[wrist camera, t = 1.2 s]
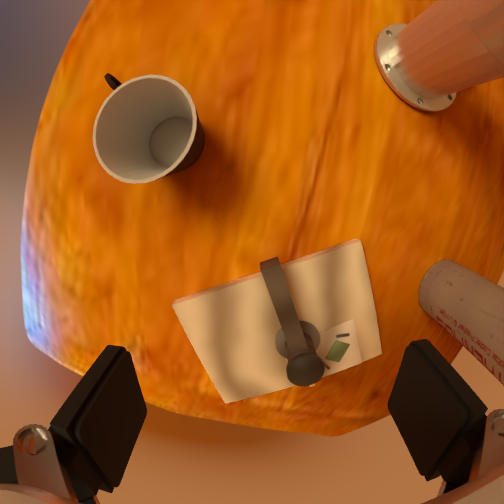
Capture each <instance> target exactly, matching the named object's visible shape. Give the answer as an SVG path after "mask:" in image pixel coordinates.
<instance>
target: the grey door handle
mask: <svg viewBox="0 0 504 504" xmlns="http://www.w3.org/2000/svg"><path fill="white" fill-rule="evenodd" d="M260 269H261V273H262V276H263V278H264V281H265V284H266V287H267V289H268V292H269V295H270V297H271V300H272V303H273V306H274V308H275V311H276V314H277V316H278V319H279V322H280V325H281V327H282V330H283V333H284V336H285V338H286V341H285V350H286V356H287V361H288V364H287V367H286V372H287V378H288V380H289V381H290V382H291V383H292V384H294V385H297V386H310V387H312V386H315V383H316V382H317V381H319V380H320V379H321V378H322V376H323V374H324V371H325V367H324V364H323V361H322V359H321V358H320V357H319V356H318V355H317V353H316V350H315V347H314V344H313V341H312V339H311V337H310V336H309V335H308V334H306V333H304V332H303V331H302V328H301V325H300V322H299V319H298V316H297V313H296V310H295V307H294V304H293V301H292V298H291V295H290V292H289V289H288V286H287V283H286V280H285V277H284V274H283V271H282V268H281V265H280V262H279V259H278V257H275V258H272V259H269V260H266V261H263V262H260Z"/></svg>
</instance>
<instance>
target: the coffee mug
mask: <svg viewBox="0 0 504 504" xmlns="http://www.w3.org/2000/svg"><path fill="white" fill-rule="evenodd" d="M104 77H105V79H106V81H107V83H108V84H109V86H110V87H111V88H112V89H113V90H114V91H113V92H112V93H111V94H110V95H109V96H108V97H107V99H106V100H105V101H104V103H103V104H102V106H101V108H100V110H99V112H98V114H97V116H96V119H95V123H94V128H93V146H94V151H95V154H96V157H97V159H98V161H99V163H100V164H101V166H102V167H103V168H104V169H105V171H106V172H107V173H108V174H110V175H111V176H113V177H114V178H116V179H118V180H120V181H123V182H127V183H132V184H139V183H147V182H151V181H155V180H157V179H160V178H162V177H165V176H168V175H170V174H173V173H176V172H178V171H181V170H183V169H186V168H188V167H189V166H191V165H192V164H193V163H194V162H195V161H196V160H197V159H198V158H199V156H200V155H201V152H202V150H203V146H204V135H203V131H202V127H201V124H200V121H199V118H198V115H197V111H196V108H195V105H194V103H193V100H192V97H191V96H190V95H189V93H188V92H187V90H186V89H185V88H184V87H183V86H182V85H181V84H180V83H178V82H177V81H175V80H173V79H171V78H169V77H165V76H161V75H145V76H139V77H136V78H133V79H131V80H129V81H127V82H125V83H123V84H121V83H120V82H119V81H118V80H117V79H116V78H115V77H113V76H112V75H111V74H109V73H107V74H106V75H105V76H104ZM117 86H118V87H117Z"/></svg>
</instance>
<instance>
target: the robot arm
mask: <svg viewBox="0 0 504 504" xmlns="http://www.w3.org/2000/svg"><path fill="white" fill-rule="evenodd" d="M374 49H375V58H376V62H377V65H378V68H379V70H380V72H381V74H382V76H383V78H384V79H385V81H386V82H387V84H388V85H389V86H390V88H391V89H392V90H393V91H394V92H395V93H396V94H397V95H398V96H399V97H400V98H401V99H403V100H404V101H405V102H406V103H408V104H410V105H411V106H413V107H415V108H417V109H420V110H423V111H428V112H437V111H440V110H444V109H446V108H448V107H449V106H450V105H451V104H452V103H453V101H454V100H455V98H456V94H457V92H458V91H461V90H464V89H467V88H470V87H473V86H476V85H479V84H483V83H486V82H489V81H493V80H496V79H500V78H503V77H504V0H436V1H435V2H434V3H433V4H431V5H430V6H429V7H428V8H427V9H425V10H424V11H423V12H422V13H421V14H419V15H418V16H417V17H416V18H415V19H414V20H413V21H411V22H410V23H409V24H392V25H390V26H387V27H386V28H385V29H383V30H382V31H381V32H380V34H379V35H378V37H377V39H376V41H375V47H374ZM388 409H389V412H390V414H391V416H392V417H393V419H394V421H395V423H396V425H397V427H398V429H399V431H400V434H401V436H402V437H403V439H404V442H405V444H406V446H407V448H408V450H409V452H410V454H411V456H412V458H413V460H414V463H415V465H416V467H417V469H418V471H419V473H420V474H421V475H422V476H425V479H426V481H430V480H432V479H434V478H437V477H439V476H440V475H441V476H442V478H443V481H442V484H441V487H440V490H439V493H438V495H437V497H436V498H434V499H431V500H429V501H427V502H424V503H422V504H504V409H497V410H494V411H492V412H491V413H490V414H489V415H488V416H486V415H485V412H486V411H487V409H488V408H487V407H486V405H485V404H484V403H483V402H482V401H481V400H480V398H479V397H478V396H477V395H476V394H475V392H473V390H472V389H471V388H470V386H469V385H468V384H467V383H466V382H465V381H464V379H463V378H462V377H461V376H460V375H459V374H458V373H457V372H456V370H455V369H454V368H453V367H452V366H451V365H450V364H449V362H448V361H447V360H446V359H445V358H444V357H443V356H442V355H441V354H440V353H439V351H438V350H437V349H436V348H435V347H434V346H433V345H432V344H431V343H430V342H429V341H428V340H427V339H423V340H417V341H412V342H411V343H410V344H409V346H407V347H406V349H405V352H404V356H403V359H402V362H401V366H400V369H399V372H398V375H397V378H396V381H395V384H394V387H393V390H392V392H391V395H390V398H389V400H388ZM146 414H147V408H146V404H145V401H144V398H143V395H142V392H141V388H140V385H139V382H138V378H137V375H136V371H135V368H134V364H133V361H132V357H131V354H130V352H128V351H126V349H125V347H122V346H114V345H108V346H107V347H106V348H105V349H104V350H103V352H102V353H101V354H100V355H99V357H98V358H97V359H96V361H95V362H94V363H93V365H92V366H91V367H90V369H89V370H88V371H87V372H86V374H85V375H84V376H83V378H82V379H81V381H80V382H79V383H78V385H77V386H76V387H75V389H74V390H73V391H72V393H71V394H70V396H69V397H68V398H67V400H66V401H65V402H64V404H63V405H62V407H61V408H60V409H59V411H58V413H57V414H56V415H55V417H54V418H53V419H52V421H51V422H50V425H51V426H50V428H49V429H47V428H46V427H44V426H42V425H38V424H30V425H27V426H24V427H23V428H21V429H19V431H18V432H17V433H16V434H15V436H14V439H13V445H12V446H8V447H4V448H0V504H100V502H99V500H98V498H97V496H96V495H97V492H98V490H99V489H100V490H103V491H106V492H109V493H112V492H113V489H114V487H118V486H119V485H120V482H121V480H122V477H123V474H124V472H125V469H126V466H127V464H128V461H129V458H130V456H131V453H132V451H133V448H134V445H135V443H136V440H137V438H138V435H139V433H140V430H141V428H142V425H143V423H144V420H145V418H146Z"/></svg>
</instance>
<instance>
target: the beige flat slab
mask: <svg viewBox="0 0 504 504" xmlns="http://www.w3.org/2000/svg"><path fill="white" fill-rule="evenodd" d="M281 268H282V271H283V274H284V277H285V280H286V283H287V286H288V289H289V292H290V295H291V298H292V301H293V304H294V307H295V310H296V313H297V316H298V319H299V322H300V325H301V328H302V331H303V332H304V333H306V334H308V335H309V336H310V337H311V339H312V341H313V344H314V347H315V350H316V353H317V355H318V356H319V357H320V358H321V359H322V361H323V364H324V367H325V371H324V374H323V376H322V377H325V376H328V375H331V374H334V373H336V372H339V371H342V370H344V369H347V368H350V367H352V366H355V365H358V364H360V363H362V362H364V361H366V360H369V359H371V358H374V357H376V356H378V355H381V354H382V350H381V342H380V335H379V329H378V322H377V316H376V310H375V305H374V299H373V294H372V289H371V284H370V279H369V274H368V269H367V265H366V260H365V256H364V252H363V247H362V243H361V241H360V240H359V239H357V238H355V239H352V240H349V241H347V242H344V243H341V244H338V245H335V246H333V247H330V248H327V249H324V250H321V251H319V252H316V253H313V254H310V255H307V256H304V257H301V258H299V259H296V260H293V261H290V262H287V263H284V264H281ZM172 306H173V308H174V310H175V312H176V314H177V317H178V319H179V321H180V323H181V324H182V326H183V328H184V330H185V332H186V334H187V336H188V338H189V340H190V342H191V344H192V346H193V348H194V349H195V351H196V353H197V355H198V357H199V359H200V361H201V362H202V364H203V366H204V368H205V369H206V371H207V373H208V375H209V377H210V378H211V380H212V382H213V383H214V385H215V387H216V389H217V390H218V392H219V394H220V395H221V397H222V399H223V400H224V402H225V403H229V402H234V401H239V400H243V399H247V398H251V397H256V396H260V395H263V394H267V393H271V392H275V391H278V390H282V389H285V388H289V387H292V386H297V385H294V384H292V383H291V382H290V381H289V380H288V378H287V372H286V367H287V364H288V361H287V356H286V350H285V341H286V338H285V336H284V333H283V330H282V327H281V325H280V322H279V319H278V316H277V314H276V311H275V308H274V306H273V303H272V300H271V297H270V295H269V292H268V289H267V287H266V284H265V281H264V278H263V276H262V273H261V272H258V273H255V274H252V275H249V276H246V277H243V278H240V279H237V280H234V281H231V282H228V283H225V284H222V285H219V286H216V287H213V288H210V289H207V290H204V291H201V292H198V293H195V294H192V295H189V296H185V297H182V298H179V299H176V300H175V301H174V303H173V304H172Z"/></svg>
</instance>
